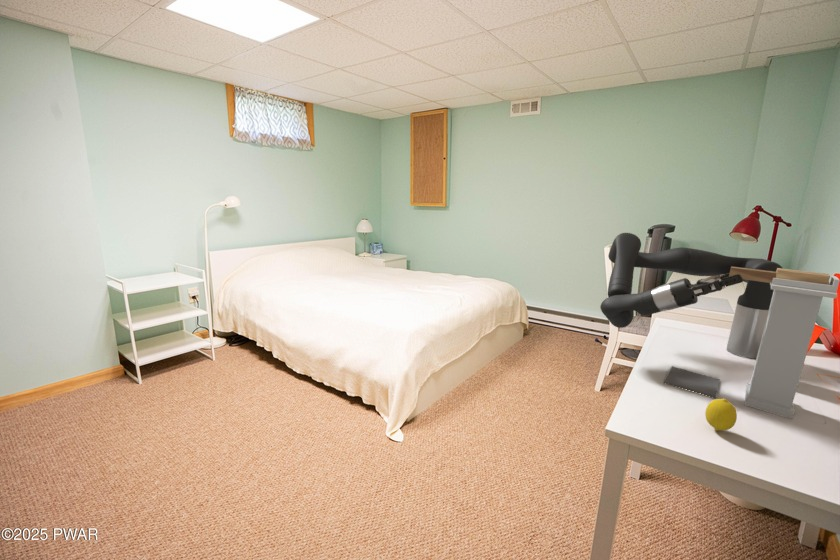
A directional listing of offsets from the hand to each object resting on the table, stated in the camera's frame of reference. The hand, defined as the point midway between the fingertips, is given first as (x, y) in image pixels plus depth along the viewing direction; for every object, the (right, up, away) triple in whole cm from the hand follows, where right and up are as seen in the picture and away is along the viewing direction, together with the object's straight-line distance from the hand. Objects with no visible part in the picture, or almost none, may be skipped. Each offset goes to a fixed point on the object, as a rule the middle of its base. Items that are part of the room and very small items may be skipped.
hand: (742, 275), depth 99 cm
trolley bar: (+5, -2, -4) cm, 7 cm away
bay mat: (-5, -31, +11) cm, 33 cm away
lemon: (-16, -36, -12) cm, 41 cm away
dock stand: (+7, -34, +1) cm, 35 cm away
